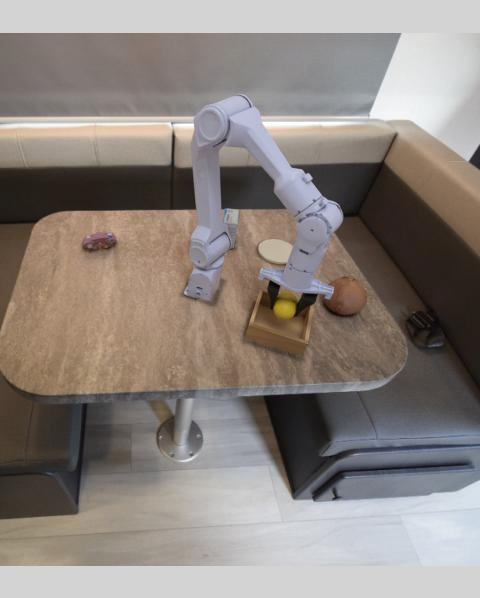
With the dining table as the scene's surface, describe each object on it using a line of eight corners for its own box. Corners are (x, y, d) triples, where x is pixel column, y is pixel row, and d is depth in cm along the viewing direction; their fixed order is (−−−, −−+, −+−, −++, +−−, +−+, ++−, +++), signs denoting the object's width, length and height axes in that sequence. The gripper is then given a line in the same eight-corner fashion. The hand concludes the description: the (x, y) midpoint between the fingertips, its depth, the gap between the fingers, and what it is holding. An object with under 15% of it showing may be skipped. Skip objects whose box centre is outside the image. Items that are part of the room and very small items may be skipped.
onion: (327, 305, 92) (337, 268, 89) (366, 317, 86) (378, 278, 83) (312, 312, 86) (323, 273, 82) (353, 326, 80) (366, 283, 76)
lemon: (290, 326, 76) (297, 312, 72) (269, 320, 77) (274, 305, 73) (295, 305, 80) (301, 290, 77) (275, 299, 81) (280, 284, 78)
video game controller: (84, 255, 102) (82, 244, 95) (81, 241, 103) (79, 230, 97) (117, 250, 104) (118, 239, 97) (114, 237, 105) (115, 225, 99)
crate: (300, 358, 77) (308, 343, 73) (243, 339, 80) (248, 324, 76) (307, 318, 85) (314, 303, 81) (255, 303, 88) (260, 288, 84)
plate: (293, 268, 98) (294, 266, 97) (254, 258, 101) (254, 256, 100) (298, 246, 105) (299, 244, 104) (262, 237, 108) (262, 235, 107)
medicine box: (233, 249, 103) (238, 224, 97) (218, 247, 103) (222, 222, 97) (234, 234, 108) (240, 209, 102) (220, 232, 109) (224, 207, 103)
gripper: (343, 261, 69) (319, 307, 79) (269, 242, 72) (255, 289, 82) (341, 283, 64) (316, 330, 74) (262, 262, 68) (248, 309, 78)
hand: (283, 310), depth 78 cm, fingers closed on lemon, 4 cm apart
